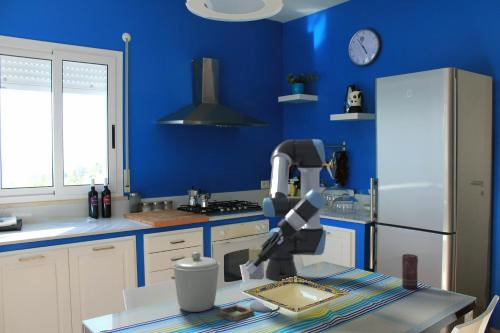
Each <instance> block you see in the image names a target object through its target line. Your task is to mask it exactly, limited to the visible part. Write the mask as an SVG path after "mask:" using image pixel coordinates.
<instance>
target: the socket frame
mask: <svg viewBox="0 0 500 333" xmlns="http://www.w3.org/2000/svg"><path fill="white" fill-rule="evenodd" d="M233 311H238V312H240V313H237V314H233V313H231V312H233ZM253 315H255V311H254V310H251V309H250V308H249V307H246V306H242V305H238V304H233V305H230V306H228V307H223V308H221V309H218V310H216V316H219V317H221V318H224V319H226V320H230V321H232V322H236V321H239V320H243V319H245V318H248V317H251V316H253Z"/></svg>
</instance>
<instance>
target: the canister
mask: <svg viewBox="0 0 500 333" xmlns="http://www.w3.org/2000/svg"><path fill="white" fill-rule="evenodd" d="M220 266H221V262H220V261H218V260H216V259H215V258H212V257H207V256H202V253H201V252H199V251H193V252H192V253H191V257H184V258H180V259H178V260H176V261H175V262H174V263H172V265H171V268H172V269H173V274H174V283H175V293H176V298H177V303H178V306H179V308H180V309H181V310H183V311H185V312H189V313H199V312H205V311H208V310H210V309H212V308H213V306H214V305H215V301H216V296H217V288H218V277H219V276H218V275H219V268H220Z"/></svg>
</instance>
